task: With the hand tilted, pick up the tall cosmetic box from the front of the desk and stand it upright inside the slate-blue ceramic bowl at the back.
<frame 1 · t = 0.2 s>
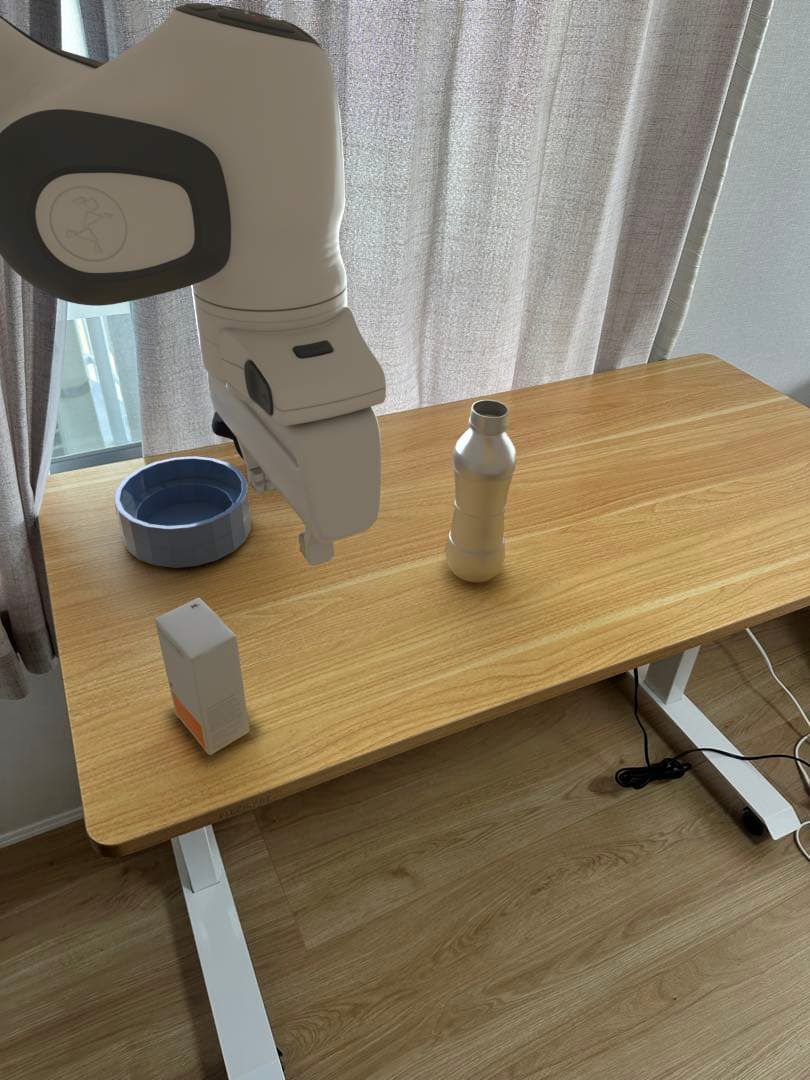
hand: (288, 520, 56), 23 cm above the table, tool pointing down, fingers open, 8 cm apart
controller: (265, 466, 105), on the table
bowl: (189, 533, 93), on the table
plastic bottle: (472, 571, 89), on the table
cosmetic box: (212, 725, 71), on the table
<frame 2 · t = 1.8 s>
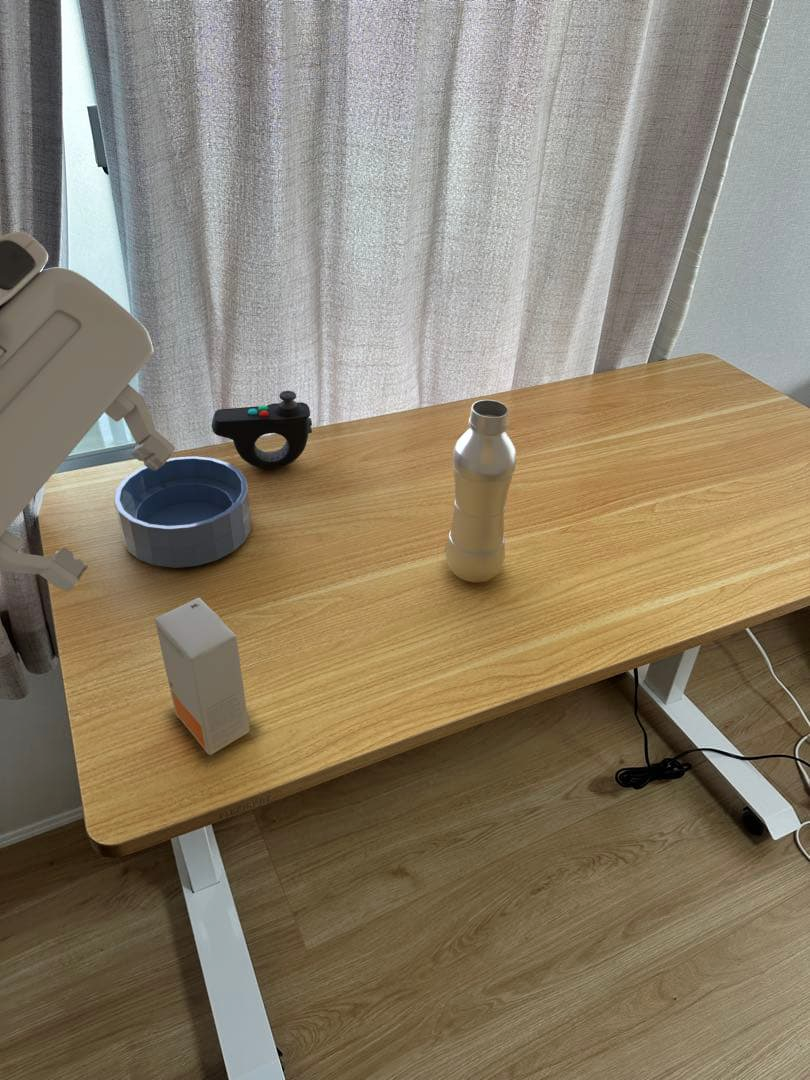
hand: (123, 516, 48), 28 cm above the table, tool tilted 45°, fingers open, 8 cm apart
nothing on the table moved.
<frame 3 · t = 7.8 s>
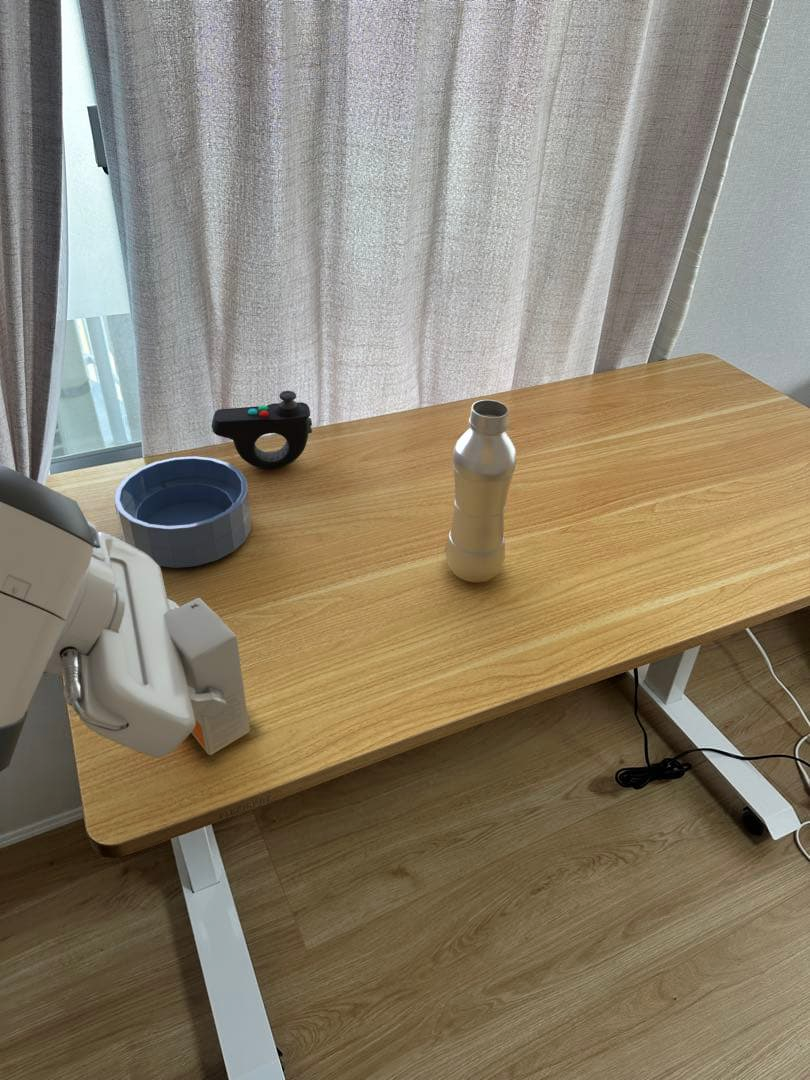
hand: (211, 670, 67), 7 cm above the table, tool tilted 45°, fingers closed on cosmetic box, 7 cm apart
cosmetic box: (213, 726, 71), on the table, touching gripper
everything else where it was.
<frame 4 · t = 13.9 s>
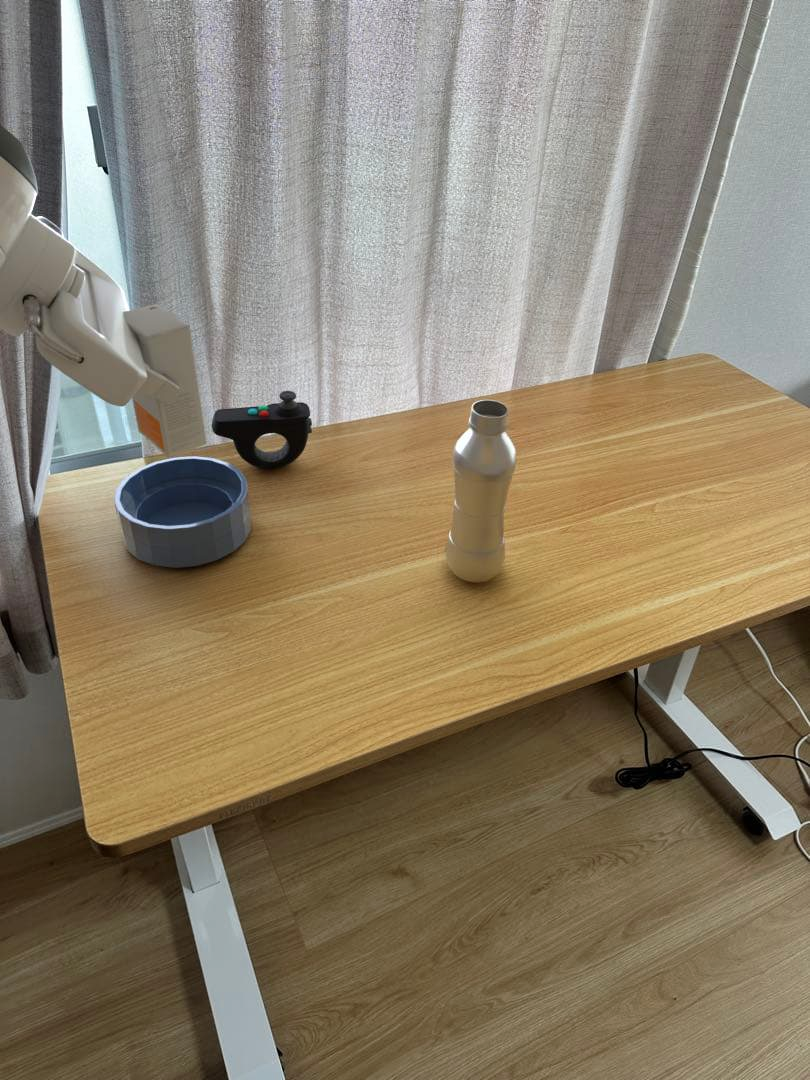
hand: (168, 374, 73), 23 cm above the table, tool tilted 45°, fingers closed on cosmetic box, 7 cm apart
cosmetic box: (173, 441, 76), point 17 cm above the table, touching gripper
everything else where it was.
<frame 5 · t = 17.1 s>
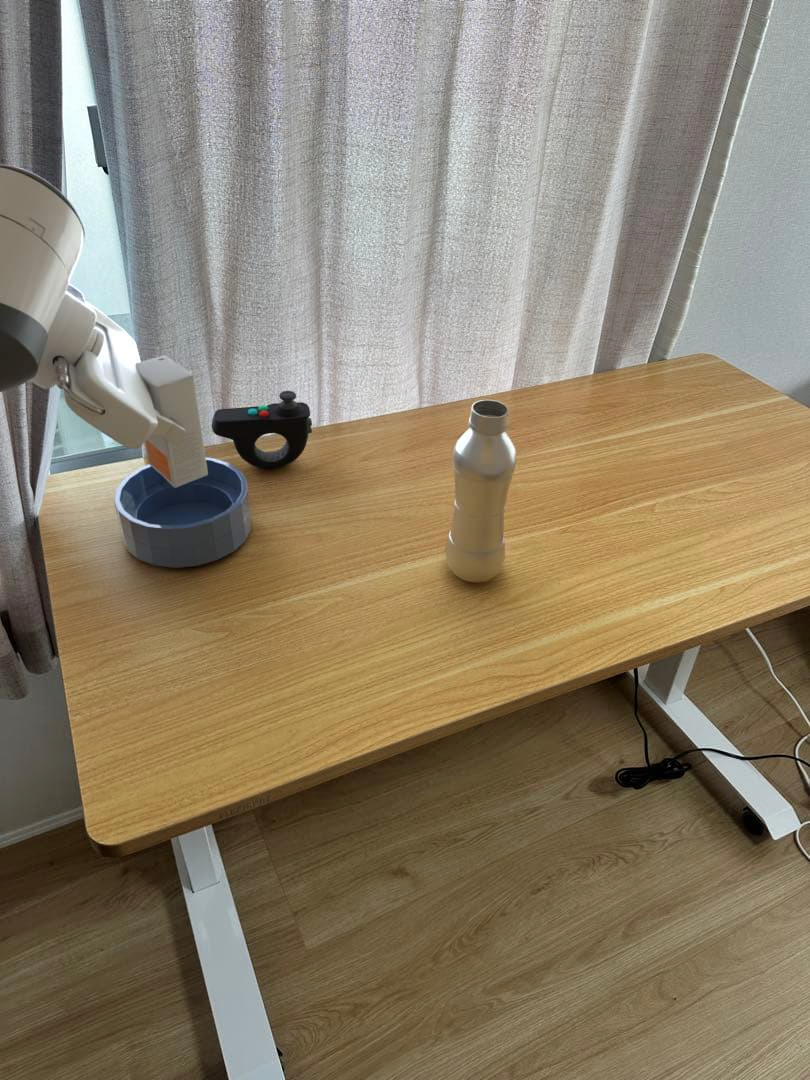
hand: (175, 416, 84), 15 cm above the table, tool tilted 45°, fingers closed on cosmetic box, 7 cm apart
cosmetic box: (178, 472, 88), point 8 cm above the table, touching gripper
everything else where it was.
when the fingers open (7 cm above the table, at t = 19.8 s): cosmetic box stays where it is, resting on bowl.
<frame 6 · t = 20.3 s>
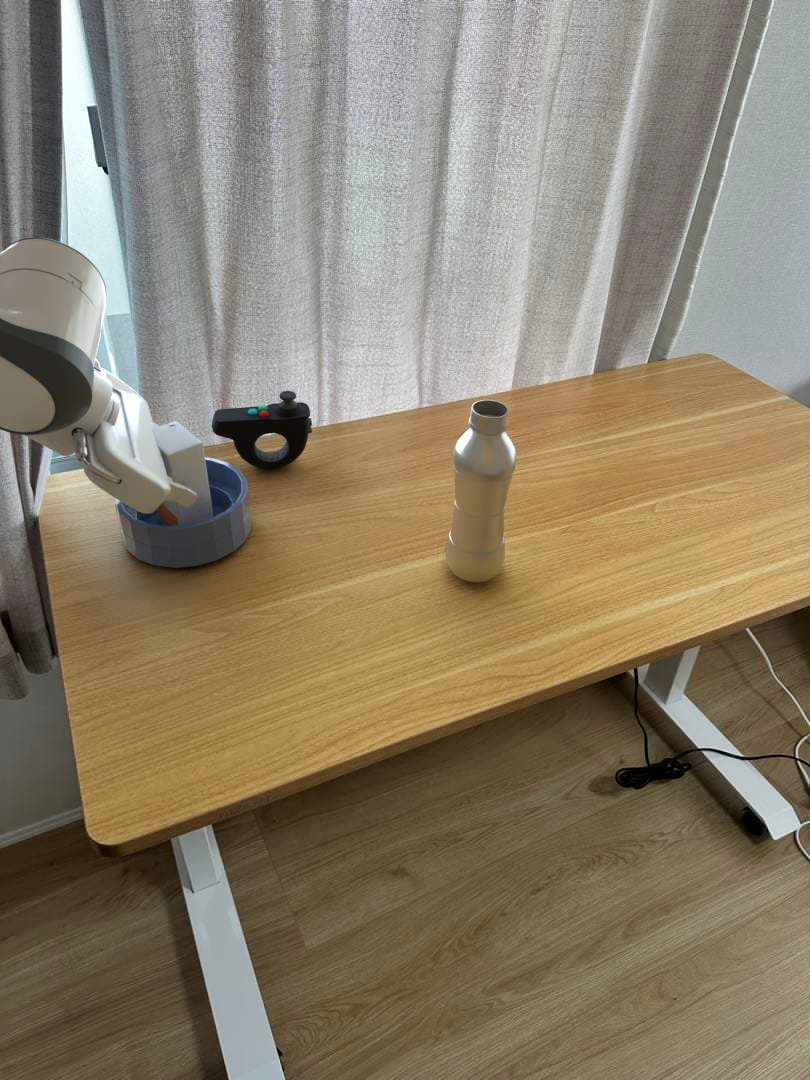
hand: (185, 476, 88), 8 cm above the table, tool tilted 45°, fingers open, 8 cm apart
cosmetic box: (187, 529, 92), point 1 cm above the table, touching bowl
everything else where it was.
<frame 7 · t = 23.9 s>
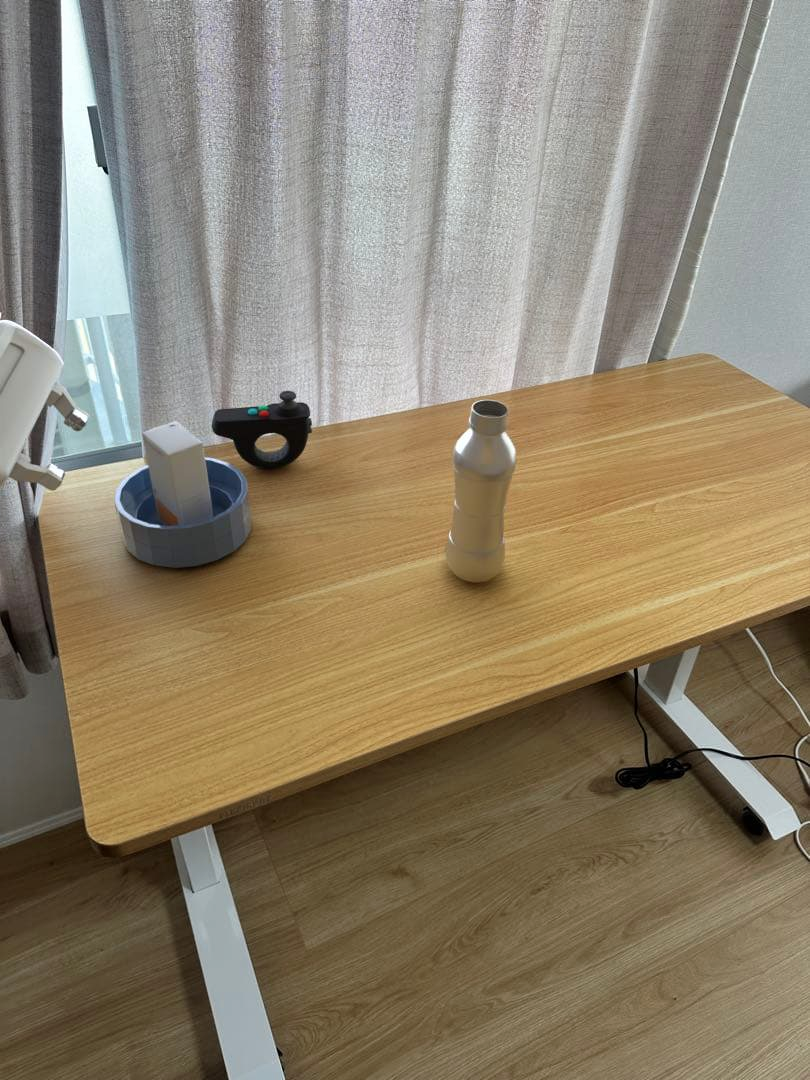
hand: (73, 452, 82), 13 cm above the table, tool tilted 45°, fingers open, 8 cm apart
nothing on the table moved.
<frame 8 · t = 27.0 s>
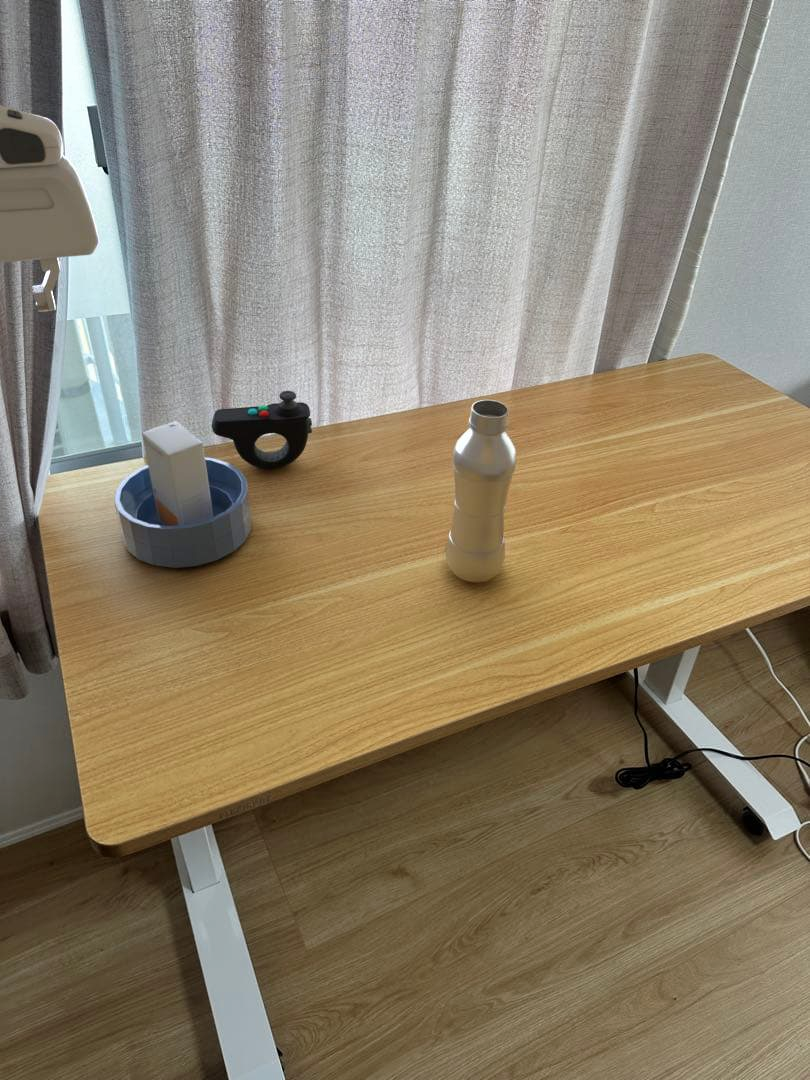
nothing on the table moved.
at the end: cosmetic box inside the target area in the bowl (0.1 cm from its centre), point 0.6 cm above the bowl's base; cosmetic box tilted 0°; the gripper is holding nothing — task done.
